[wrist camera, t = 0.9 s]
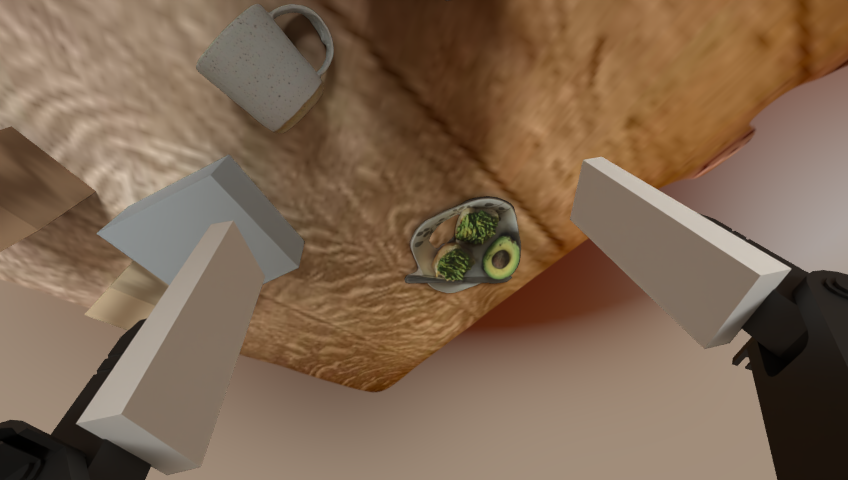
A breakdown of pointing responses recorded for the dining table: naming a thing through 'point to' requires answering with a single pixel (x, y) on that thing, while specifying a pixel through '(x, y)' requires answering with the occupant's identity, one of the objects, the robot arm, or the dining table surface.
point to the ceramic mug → (266, 67)
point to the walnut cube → (32, 188)
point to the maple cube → (129, 297)
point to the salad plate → (468, 246)
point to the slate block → (204, 222)
